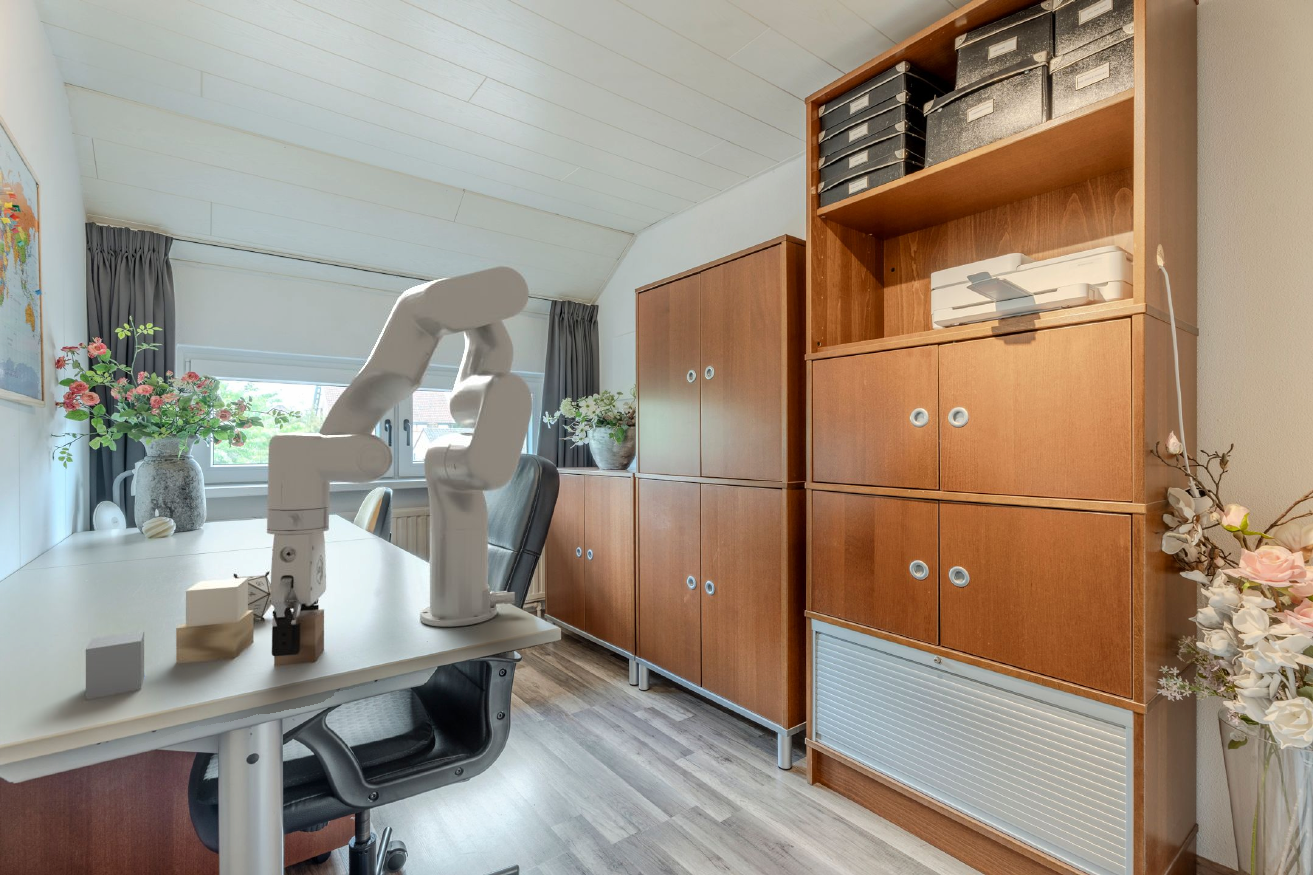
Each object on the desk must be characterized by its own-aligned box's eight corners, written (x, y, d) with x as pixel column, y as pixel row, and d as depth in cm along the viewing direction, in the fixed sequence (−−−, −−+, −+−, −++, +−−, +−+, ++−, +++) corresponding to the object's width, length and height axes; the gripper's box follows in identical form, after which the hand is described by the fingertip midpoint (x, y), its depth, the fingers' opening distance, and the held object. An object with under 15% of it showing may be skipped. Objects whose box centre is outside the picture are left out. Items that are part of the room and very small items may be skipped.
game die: (251, 645, 102) (239, 607, 96) (211, 625, 103) (197, 586, 97) (295, 607, 109) (286, 569, 103) (257, 588, 110) (246, 550, 105)
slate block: (144, 676, 79) (144, 630, 79) (141, 689, 75) (141, 640, 75) (91, 686, 76) (91, 638, 76) (85, 700, 72) (85, 649, 72)
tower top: (247, 610, 92) (247, 577, 92) (237, 621, 86) (237, 586, 86) (199, 615, 90) (199, 581, 90) (185, 626, 84) (185, 590, 84)
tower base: (253, 643, 92) (253, 610, 92) (234, 659, 86) (234, 623, 86) (199, 647, 90) (199, 613, 90) (176, 664, 84) (176, 627, 84)
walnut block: (324, 650, 89) (324, 609, 89) (315, 662, 84) (315, 618, 84) (285, 653, 87) (285, 611, 87) (274, 666, 83) (274, 621, 83)
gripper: (313, 528, 78) (310, 661, 78) (341, 513, 95) (339, 624, 95) (245, 529, 76) (243, 667, 76) (286, 514, 93) (284, 627, 93)
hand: (296, 643), depth 85 cm, fingers open, 9 cm apart
